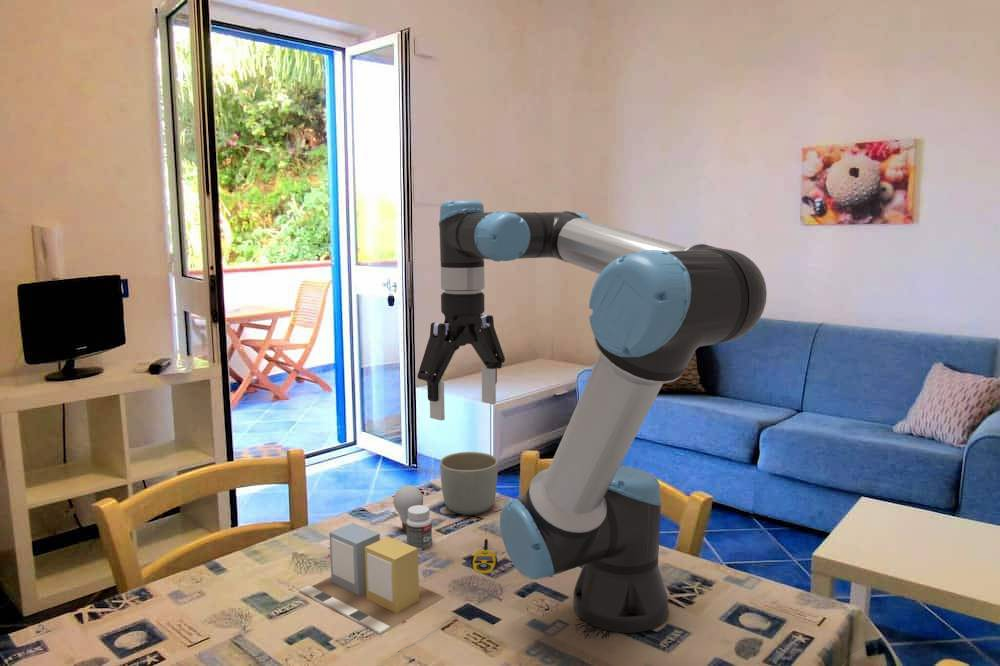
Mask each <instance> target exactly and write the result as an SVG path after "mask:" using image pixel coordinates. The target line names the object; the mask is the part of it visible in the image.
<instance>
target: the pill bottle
mask: <svg viewBox="0 0 1000 666" xmlns="http://www.w3.org/2000/svg"><path fill="white" fill-rule="evenodd" d="M430 516H431V515H430V508H429V506H427V505H416V506H412V507H410V508H409V509H408V517H409V518H408V519H407V522H406V527H407V531H406V544H408V545H411V546H413V547H416V548H418V552H419V551H425V550H428V549H431V547H433V532H432V531H433V528H432V527H433V525H432V518H431V517H430Z"/></svg>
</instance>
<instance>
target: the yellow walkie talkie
mask: <svg viewBox="0 0 1000 666" xmlns="http://www.w3.org/2000/svg"><path fill="white" fill-rule="evenodd" d="M488 541H489V539H487V538H485V539H484V547H483V549H482V550H481V549H480V550H477V551H476V552H475V553H474V555H473V556H472V557H471V560H470V561H471V562H470V565H471V567H472V568H473V571H474V572H475V573H478V574H489V573H492V572H493V570H494V568H496V566H498V565H499V564H498V557H497V555H496V554H495V553H494V551H492V550H488V544H489V543H488Z"/></svg>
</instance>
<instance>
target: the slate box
mask: <svg viewBox="0 0 1000 666" xmlns="http://www.w3.org/2000/svg"><path fill="white" fill-rule="evenodd" d="M328 534H329V554H330V577H331V580H332V583H335V584H337V585H339V586H341V587H343V588H345V589H347V590H349V591H351V592H353V593H355V594H357V595H360V594H362V593H364V592H366V564H365V547H366V546H369V545H371V544H373V543H375V542H377V541H379V540H381V534H380V533H379V532H376V531H374V530H372V529H369V528H367V527H364V526H362V525H359V524H356V523H354V522H351V523H348V524H346V525H343V526H342V527H341V526H340V527H339V528H336V529H334V530H332V531H329V533H328Z"/></svg>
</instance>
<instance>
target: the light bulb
mask: <svg viewBox="0 0 1000 666" xmlns="http://www.w3.org/2000/svg"><path fill="white" fill-rule="evenodd" d="M392 503H393V506H394V509H395V510H396V512H397V514H398V515H399V518H400V521H401V525H402V526H401V527H402V528H401V529H402V530H403V531H404V532H407V527H406V522H407V519H408V518H409V517H408V509H409V508H410V507H412V506H416V505H423V504H424V496H423V493H422V491H421V490H420V489H419V488H418V487H417V486H414V485H411V484H410V485H407V484H406V485H403V486H401V487H400V488H398V489H397V490H396V492H395V494H394V496H393V502H392ZM423 506H424V505H423Z"/></svg>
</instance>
